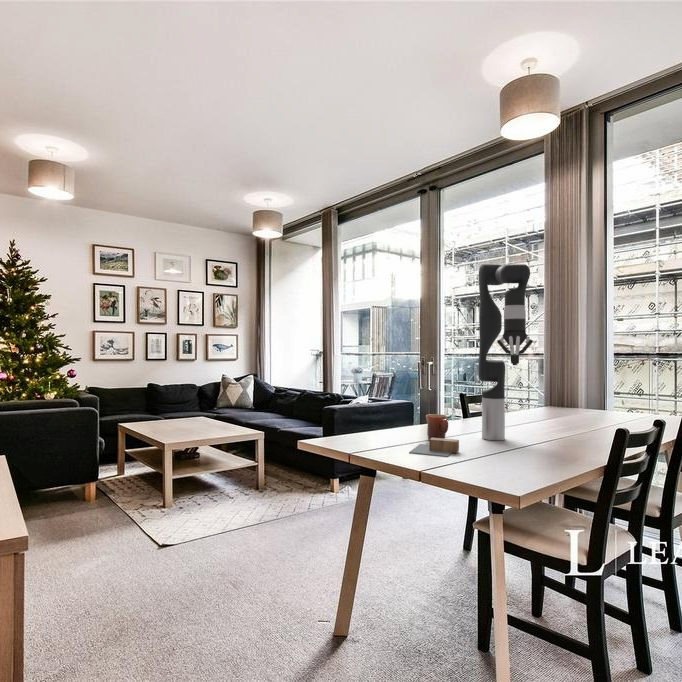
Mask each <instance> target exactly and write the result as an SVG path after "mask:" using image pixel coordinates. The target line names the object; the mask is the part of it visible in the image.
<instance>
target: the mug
mask: <svg viewBox="0 0 682 682" xmlns="http://www.w3.org/2000/svg"><path fill="white" fill-rule="evenodd" d="M425 418H426V422H427V430H426V431H427V432H426V433H427V434H426V435H427V439H428V440H429V439H431V438H443V439H446V436H447V432H448V431H449V421H448V420H447V418H448V415H446V414H439V413H436V414H435V413H431V414H430V413H429V414H426V415H425Z"/></svg>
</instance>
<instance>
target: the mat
mask: <svg viewBox="0 0 682 682" xmlns="http://www.w3.org/2000/svg"><path fill="white" fill-rule="evenodd" d="M408 454H413V455H414V454H416V455H424V456H435V457H444V458H445V457H446V458H449V457H450V456H451V454H453V453H452V452H442V451H431V450H429V444H424V443H419V444H418V445H417V446H415V447H414V448H412V449H411V450H410V451H409V453H408Z"/></svg>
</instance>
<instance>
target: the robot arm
mask: <svg viewBox="0 0 682 682" xmlns="http://www.w3.org/2000/svg"><path fill="white" fill-rule="evenodd" d="M530 276H531V270H530V268H529V266H528V265H527V264H524V263H523V264H522V263H521V264H520V263H519V264H517V263H515V264H513V263H511V264H508V263H507V264H499V263H483V264H481V265H480V266H479V268H478V288H479V289H478V290H479V315H478V316H479V317H478V318H479V321H478V325H479V326H478V327H479V328H478V329H479V330H478V331H479V350H478V354H479V355H478V368H477V369H478V380H479V381H480V382H487V383H488V382H490V383H491V382H493V383H495V382H496V385H494V386H493V387H489V388H487V389H484V390H482V391H481V438H482V439H484V440H488V441H503V440H506V421H505V420H506V405H505V403H506V401H505V400H506V398H505V397H506V396H505V394H506V393H505V392H506V391H505V390H506V389H505V386H506V385H505V384H506V363H505V361H504V360H502V359H487V357H488V354H489V351H490V350H491V347H492V346H493V344H494V343H495V342H496V343H497V344H498V345H499V347H500V348H501V349H502V350H503V351H504V352H505V354H509V355H510V364H511V365H512V366H518V365H519V364H520V355H522V354H524V353H526V351H527V349H529V347H530V346H531V345H532V344H533V343H534V340H533V339H531V338H529V337H528V335H527V331H526V329H527V328H526V327H527V325H526V324H527V322H526V317H527V314H526V290H527V285H528V283H529V281H530ZM504 284H518V285H517V287H516V288H514V289H509V290H506V291H505V293H504V308H503V309H504V311H503V315H502V313H501V310H500V308H499V307H498V306H497V303H495V301H494V300H493V298H492V295H491V293H490V290H489V287H488V286H501V285H504ZM502 316H503V317H502ZM502 318H503V319H502ZM502 320H503V322H502ZM502 323H503V324H502ZM502 325H503V326H502ZM502 327H503V333H502V337H501V338H499V339H498V340H496V339H497V338H498V337H499V335H500V334H501V332H502ZM505 342H506V344H507V345H508V346H509V349H508V348H507V346H506V345H505ZM524 342H525V345H524V347H522V349H521V350H520V347H521V346H522V345H523V343H524Z"/></svg>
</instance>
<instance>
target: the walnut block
mask: <svg viewBox="0 0 682 682" xmlns="http://www.w3.org/2000/svg"><path fill="white" fill-rule="evenodd" d="M428 442H429V444H428V445H429V450H431V451H442V452H452V453H451V454H455V453H456V454H457V453H458V452H459V451H460V440H459V439H453V438H445V439H443V438H431V439H428Z"/></svg>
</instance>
